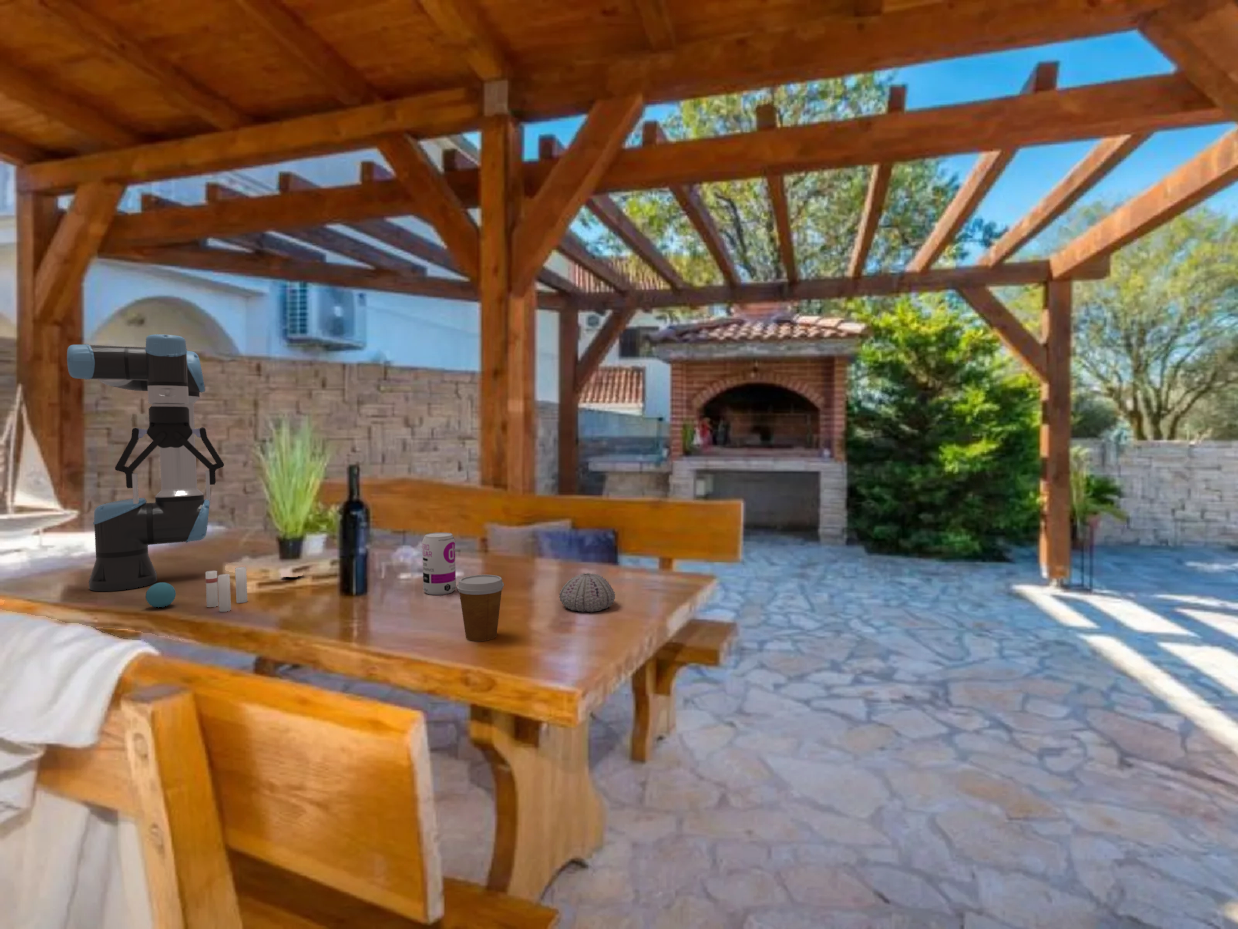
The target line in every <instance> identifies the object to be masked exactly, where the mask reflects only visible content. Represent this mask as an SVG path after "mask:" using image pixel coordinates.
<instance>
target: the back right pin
mask: <svg viewBox="0 0 1238 929" xmlns="http://www.w3.org/2000/svg"><path fill="white" fill-rule="evenodd" d="M230 576H231V575H230V574H229V573H223V574H222V573H221V574H217V578H218V582H217V584H218V612H219V613H227V611H228V612H230V610H232V604H231V603H232V602H231V583H230V582H231V580H230V579H231V578H230Z"/></svg>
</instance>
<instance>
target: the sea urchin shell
mask: <svg viewBox="0 0 1238 929" xmlns="http://www.w3.org/2000/svg"><path fill="white" fill-rule="evenodd" d="M558 598H559V601H560V602H561V604H562V606H563V605H564V607H565V608H566V609H568V610H570V611H573V612H582V613H584V612H588V613H593V612H599V611H602V610H605V609H609V607H611V606H612V605H613V604H614V602H615V599H616V593H615V591H614V588H613V587H612V585H611V584H610V583H609V581H608V580H607V578H604V577H603V576H602V575H600V574H598V573H589V572H587V573H585V572H583V573H580V574H578V575H574V576H573V577H571V578H570V579H569V580H567V582H566V583H565V584H564V585H563V586H562V589H560V592H559V597H558Z"/></svg>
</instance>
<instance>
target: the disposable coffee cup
mask: <svg viewBox="0 0 1238 929" xmlns="http://www.w3.org/2000/svg"><path fill="white" fill-rule="evenodd" d="M504 586H505V584H504V582H503V578H502V577H501V576H499V575H494V574H475V575H469V576H468V575H467V576H464V577H461V578H460V579H458V584H456V589H457V591H458V592H459V599H460V606H461V612H462V613H461V614H462V620H463V627H464V634H465V638H466V639H467V640H468V641H471V642H485V641H492V640H493V639H495V638H496V637H497V636H498V629H499V628H498V627H499V618H500V609H501V601H502V600H501V599H502V591H503V589H504Z"/></svg>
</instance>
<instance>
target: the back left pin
mask: <svg viewBox="0 0 1238 929" xmlns="http://www.w3.org/2000/svg"><path fill="white" fill-rule="evenodd" d="M234 571H235V572H234V576H235V596H236V598H235V599H236V604H244V603H248V588H247V587H248V578H247V567H246V566H238V567H235V569H234Z"/></svg>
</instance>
